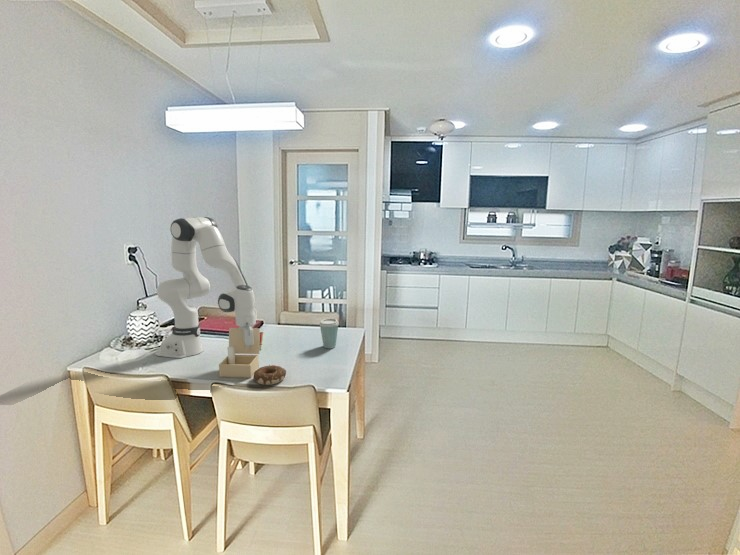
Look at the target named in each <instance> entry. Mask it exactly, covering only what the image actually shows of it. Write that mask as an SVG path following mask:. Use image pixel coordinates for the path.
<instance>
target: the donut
mask: <svg viewBox="0 0 740 555" xmlns="http://www.w3.org/2000/svg"><path fill="white" fill-rule="evenodd" d="M286 374H287V371H286V369H285V368H283V367H281V366H279V365H273V364H272V365H270V364H269V365H264V366H261V367H259V368H258V369H257V370H256V371H255V372H254V375H253V376H252V377H253V378H252V379H253V382H255V383H257V384H259V385H262V386H271V385H276V384H278V383H280V382H282V381H283V379H284V378H286Z"/></svg>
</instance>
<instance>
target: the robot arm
mask: <svg viewBox="0 0 740 555" xmlns="http://www.w3.org/2000/svg"><path fill="white" fill-rule="evenodd" d="M218 228H219V227H218V224H217V222H216V221H215V219H213V218H212V217H208V216H204V217H203V216H201V217H200V216H192V217H185V218H182V217H181V218H177V219H175V220H173V221H172V222H171V224H170V229H169V230H170V234H171V236H172V238H171V249H170V250H171V253H170V254H171V266H172V268H173V269H174V270H175V271H177V272H180V273H182V276H183V277H182V278H173V279H168V280H164V281H163V282H160V283H159V284H158V286H157V288H156V295H157V296H158V298H159V300H160V301H161V302H163V303H165V304H167V305H168V306H169V308H171V310H172V313H173V317H174V318H173V319H174V326H172V327H171V328H170V329H169V330H170V332H172V333H171V334H169V335H168V336H167V337H166V338H164V339H163V340H162V341H161V343H160V348H159V349H158V350H157V351H156V352H155V356H156V357H157V356H158V357H166V358H174V359H183V358H186V357H190V356H192V357H193V356H196V355H198V354H201V353H203V351H204V347H203V344H202V340H201V327H200V323H199V322H200V321H199V311H198V309H197V308H196V307H195V306H192V305H190V304H187V300H191V299H196V298H200V297H203V296H206V295H208V294H209V293H210V291H211V283H210V280H209V279H208V278H207V277H205V276H203V274H202V273H201V272H200V271H199V268H198V265H197V264H198V263H197V246H196V244H197V243H198V245H199V248H200V252H201V255H202V258H203V260H204V262H205V263H206V265H207V266H210V267H211V268H214V269H218V270H221V271H224V272H226V273H227V274H228V275H229V277H230V280H231V281H232V283H233V286H234V288H233V289H231V290H228V291H226V292H222V293H221V294H220V295H219V296H218V298H217V306H218V308H219V309H220V311H222V312H223V313H233V312H234V313H235V326H237V327H238V328H240V329H241V331H242V338H243V340H244V343H245V349H246V350H248V349H250V345H253V344H254V337H253V329H252V328H254V326H255V325H256V324H257V318H256V315H257V314H256V310H255V307H256V299H255V298H256V295H255V291H254V290H253V287H251V286H249V285H248V282H247V280H246V277H245V276H244V273H243V271H242V269H241V267H240V265H239V264H238V261H237V260H236V259H235V258H234V257H232V255H231V254H230V252H229V251H228V249H227V245H226V243H225V240H224V238H223V235H222V233H221V231H220V230H219V229H218Z"/></svg>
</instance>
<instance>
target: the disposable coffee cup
mask: <svg viewBox="0 0 740 555" xmlns="http://www.w3.org/2000/svg"><path fill="white" fill-rule="evenodd" d="M339 324H340V323H339V321H338V319H337V318H333V317H330V318H329V317H328V318H324V319H322V320H320V322H319V327H320V334H321V340H322V345H323V348H325V349H334V348H336V345H337V338H338V329H339Z"/></svg>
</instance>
